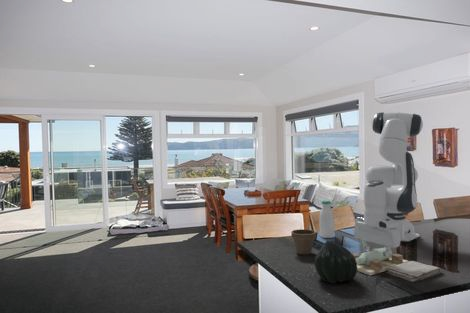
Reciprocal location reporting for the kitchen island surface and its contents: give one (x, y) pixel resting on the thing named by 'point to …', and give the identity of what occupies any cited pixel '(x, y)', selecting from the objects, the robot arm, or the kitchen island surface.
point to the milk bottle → (326, 220)
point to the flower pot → (303, 240)
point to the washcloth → (413, 271)
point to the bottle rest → (379, 264)
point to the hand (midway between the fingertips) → (376, 253)
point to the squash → (335, 263)
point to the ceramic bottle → (373, 256)
